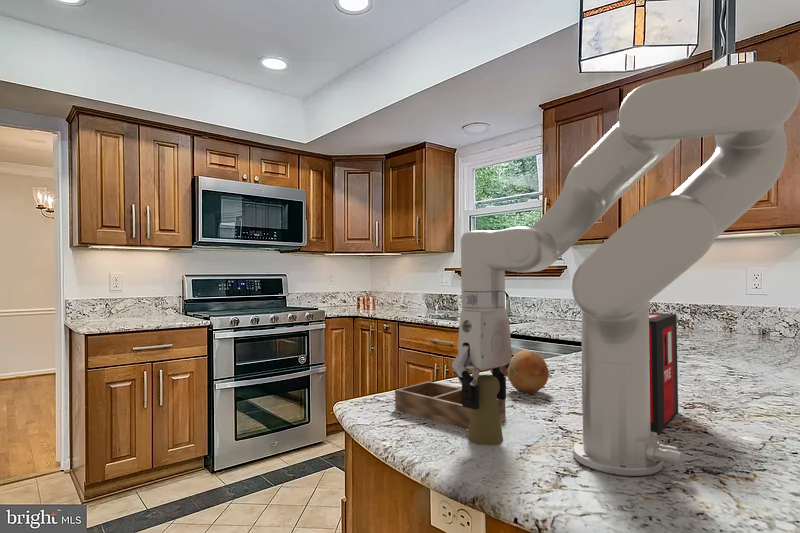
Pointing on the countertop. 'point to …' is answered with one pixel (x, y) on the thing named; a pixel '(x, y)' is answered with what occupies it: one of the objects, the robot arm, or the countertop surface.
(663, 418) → the cleaning product box
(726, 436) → the countertop surface
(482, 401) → the cork
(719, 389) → the countertop surface
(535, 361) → the onion
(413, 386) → the wooden divided tray
